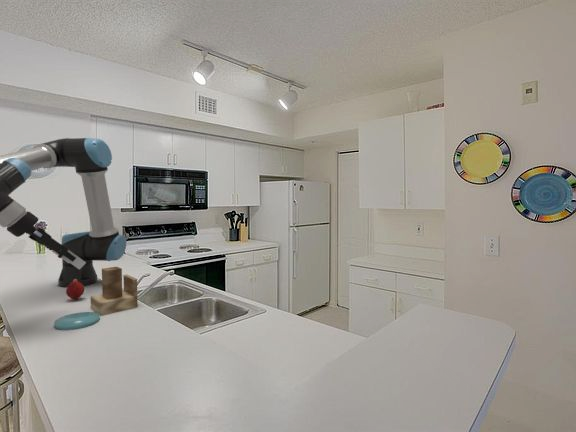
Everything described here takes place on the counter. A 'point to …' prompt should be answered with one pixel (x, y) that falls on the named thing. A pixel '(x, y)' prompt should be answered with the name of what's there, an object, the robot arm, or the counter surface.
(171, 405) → the counter surface
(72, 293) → the onion
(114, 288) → the block
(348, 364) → the counter surface
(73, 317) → the teal flattened ellipsoid
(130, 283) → the ledge
